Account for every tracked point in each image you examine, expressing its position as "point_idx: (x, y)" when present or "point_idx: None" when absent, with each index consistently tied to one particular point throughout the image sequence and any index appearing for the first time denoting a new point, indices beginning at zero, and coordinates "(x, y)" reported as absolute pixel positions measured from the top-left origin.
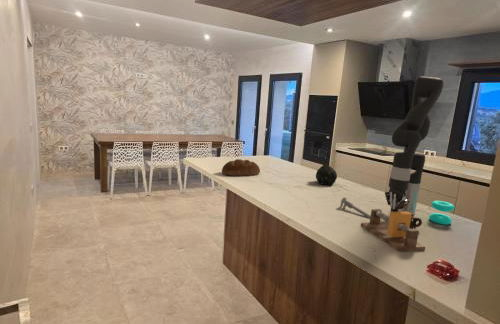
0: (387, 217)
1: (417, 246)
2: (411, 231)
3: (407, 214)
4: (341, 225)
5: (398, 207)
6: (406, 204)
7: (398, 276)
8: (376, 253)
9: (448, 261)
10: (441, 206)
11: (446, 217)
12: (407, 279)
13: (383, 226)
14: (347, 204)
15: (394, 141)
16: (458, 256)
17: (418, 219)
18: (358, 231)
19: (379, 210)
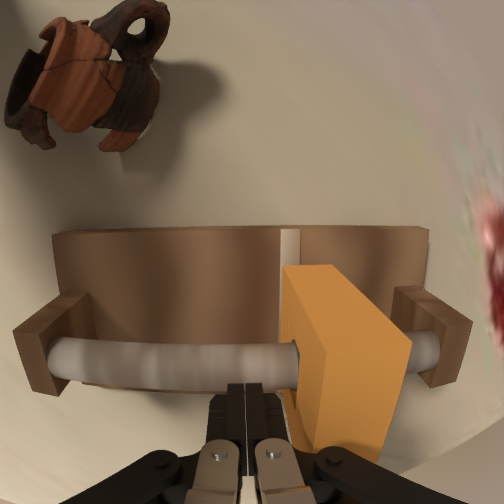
0: (188, 389)
1: (417, 274)
2: (457, 372)
3: (397, 390)
4: (105, 448)
5: (349, 500)
6: (431, 494)
7: (477, 429)
8: None
9: (498, 202)
10: None
11: None
12: (492, 415)
13: (122, 290)
14: None
15: None
16: (474, 107)
17: (139, 16)
18: (166, 426)
19: (39, 351)
